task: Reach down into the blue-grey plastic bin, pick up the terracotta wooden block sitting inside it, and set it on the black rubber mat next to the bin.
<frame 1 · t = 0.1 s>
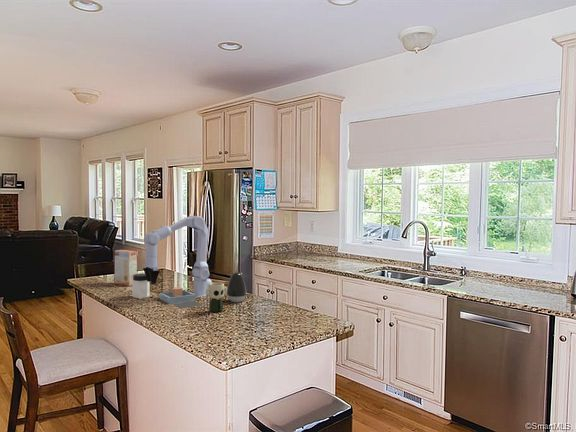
hand: (151, 282, 218), 10 cm above the countertop, tool pointing down, fingers open, 7 cm apart
bin: (177, 300, 223), on the countertop
jar: (141, 297, 230), on the countertop
mat: (187, 305, 213), on the countertop
character mug: (216, 311, 203), on the countertop
dark grey dome figure: (236, 301, 224), on the countertop
cracker box: (125, 284, 262), on the countertop
block: (177, 299, 223), resting on bin
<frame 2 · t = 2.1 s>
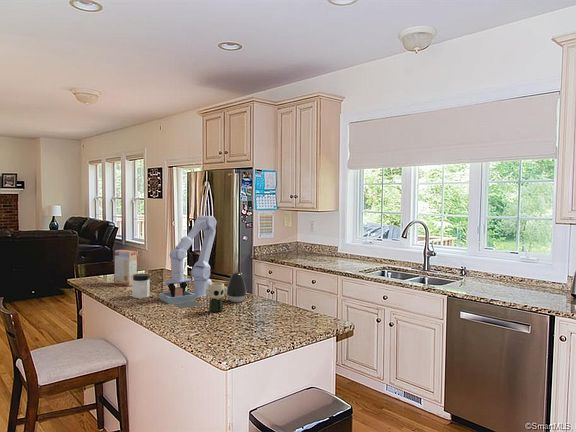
hand: (177, 297, 223), 2 cm above the countertop, tool pointing down, fingers closed on block, 4 cm apart
block: (177, 299, 223), resting on bin, touching gripper
everything else where it was.
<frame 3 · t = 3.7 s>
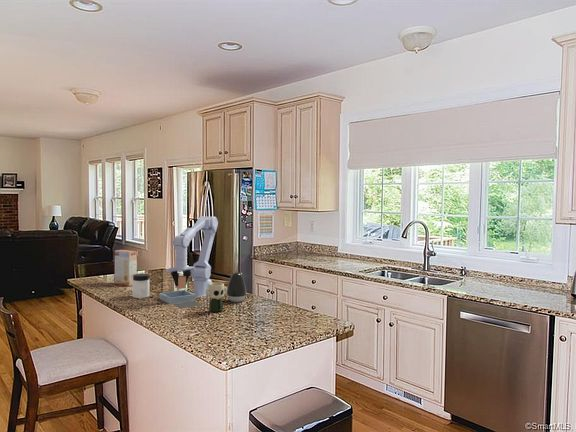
hand: (180, 285, 219), 9 cm above the countertop, tool pointing down, fingers closed on block, 4 cm apart
block: (180, 287, 219), point 7 cm above the countertop, touching gripper
everything else where it was.
when the fingers open (3 cm above the countertop, at t = 5.6 s): block drops 1 cm, resting on mat.
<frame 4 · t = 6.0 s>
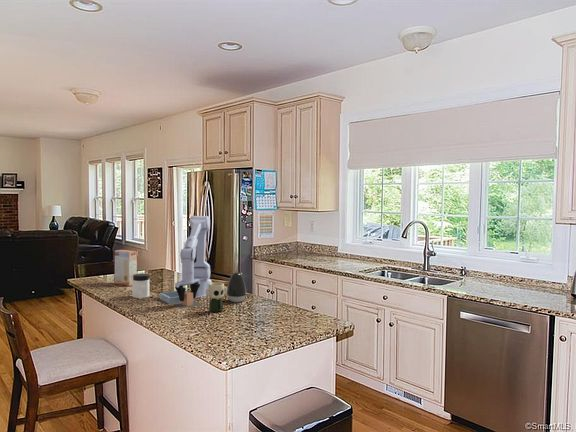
hand: (187, 299, 213), 3 cm above the countertop, tool pointing down, fingers open, 7 cm apart
block: (187, 304, 213), resting on mat
everything else where it was.
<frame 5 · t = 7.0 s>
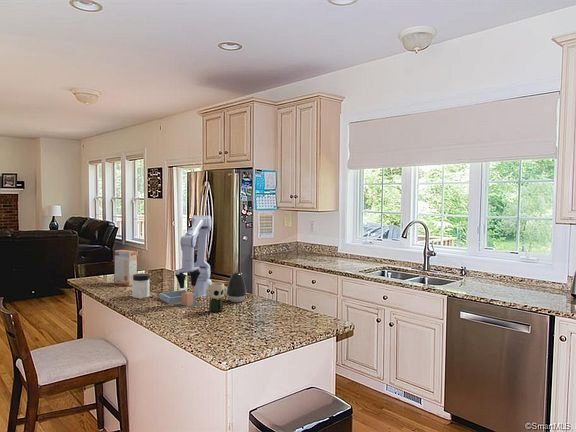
hand: (187, 286, 212), 9 cm above the countertop, tool pointing down, fingers open, 7 cm apart
nothing on the countertop moved.
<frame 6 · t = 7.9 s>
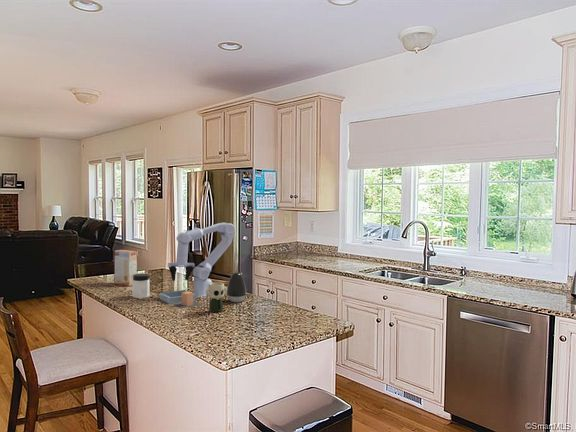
hand: (180, 280, 229), 9 cm above the countertop, tool pointing down, fingers open, 7 cm apart
nothing on the countertop moved.
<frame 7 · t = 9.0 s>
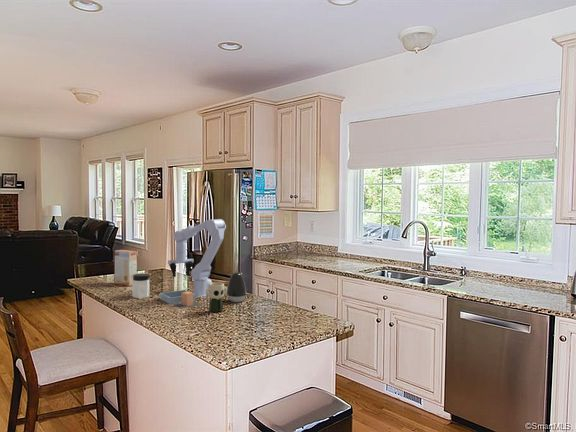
hand: (180, 276, 242), 9 cm above the countertop, tool pointing down, fingers open, 7 cm apart
nothing on the countertop moved.
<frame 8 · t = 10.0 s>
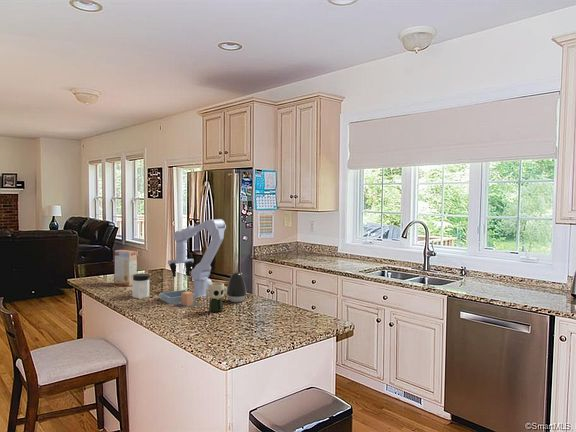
hand: (180, 276, 242), 9 cm above the countertop, tool pointing down, fingers open, 7 cm apart
nothing on the countertop moved.
at the end: block inside the target area on the mat (0.3 cm from its centre), point 0.5 cm above the mat's base; block tilted 0°; the gripper is holding nothing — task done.
